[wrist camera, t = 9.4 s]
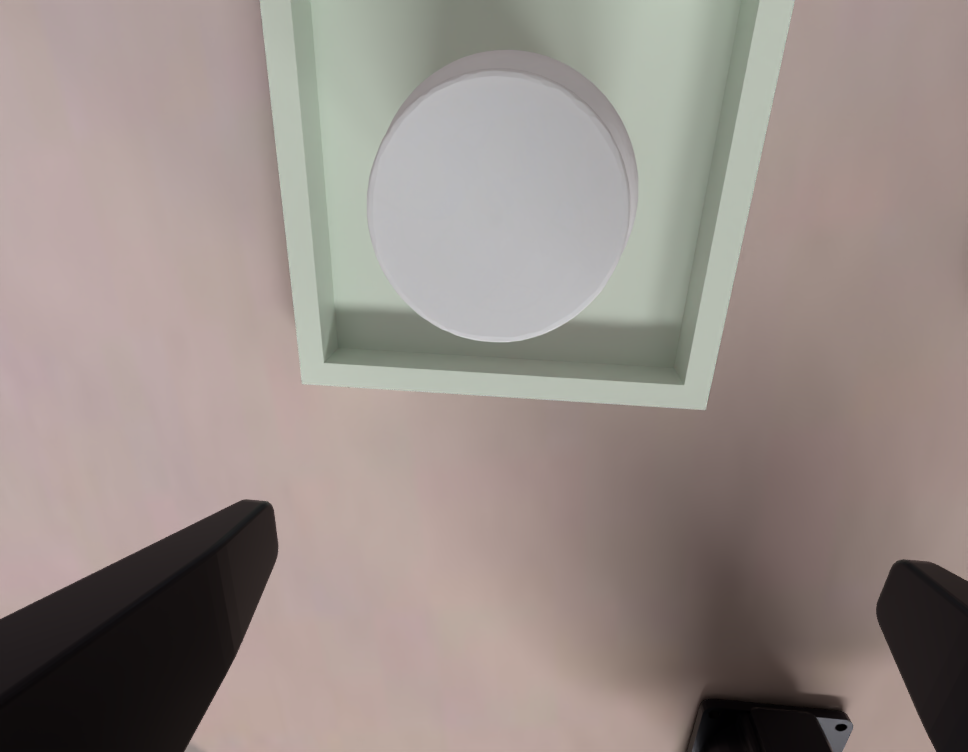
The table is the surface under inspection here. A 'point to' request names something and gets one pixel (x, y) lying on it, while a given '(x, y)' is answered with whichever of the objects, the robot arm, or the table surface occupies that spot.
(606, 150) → the pill bottle
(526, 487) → the table surface
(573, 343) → the tray
